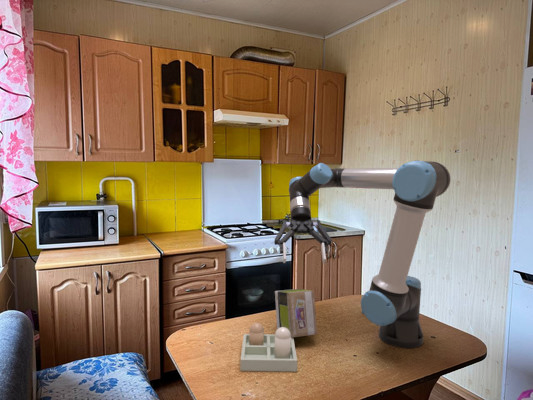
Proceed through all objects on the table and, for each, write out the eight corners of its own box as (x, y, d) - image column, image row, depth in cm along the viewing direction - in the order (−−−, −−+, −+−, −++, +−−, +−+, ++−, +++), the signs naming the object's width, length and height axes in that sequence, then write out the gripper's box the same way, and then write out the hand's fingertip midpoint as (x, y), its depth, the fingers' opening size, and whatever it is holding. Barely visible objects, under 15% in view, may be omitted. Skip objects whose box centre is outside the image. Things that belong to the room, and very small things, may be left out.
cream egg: (289, 355, 119) (290, 324, 118) (290, 364, 114) (291, 331, 113) (274, 355, 119) (274, 324, 118) (274, 364, 114) (275, 331, 113)
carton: (292, 344, 129) (293, 318, 128) (296, 371, 112) (297, 341, 111) (243, 343, 129) (243, 317, 128) (240, 370, 112) (240, 340, 111)
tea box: (301, 328, 142) (318, 335, 128) (276, 331, 139) (291, 338, 125) (298, 288, 144) (314, 290, 130) (274, 290, 141) (288, 293, 127)
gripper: (331, 218, 144) (339, 266, 130) (267, 217, 143) (267, 266, 130) (334, 205, 138) (342, 255, 124) (267, 205, 137) (268, 255, 124)
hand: (304, 261), depth 127 cm, fingers open, 13 cm apart
